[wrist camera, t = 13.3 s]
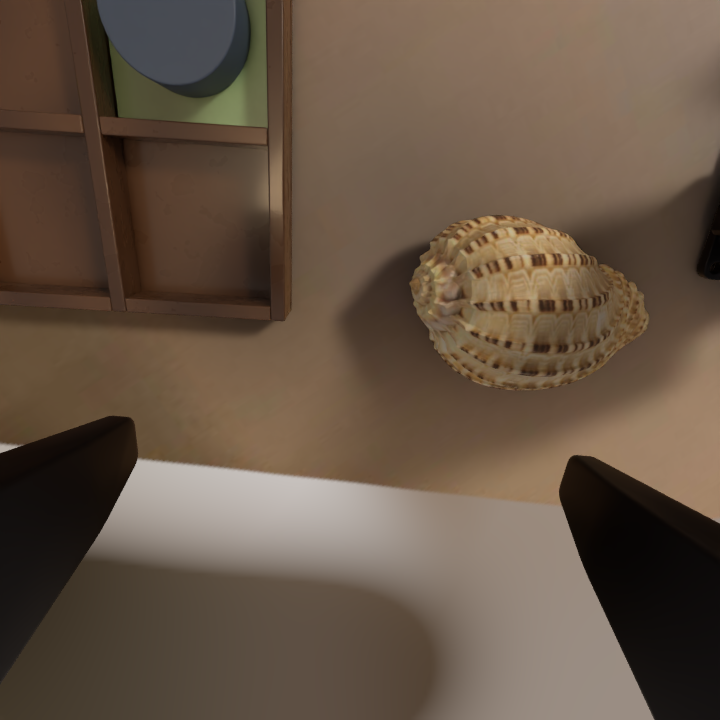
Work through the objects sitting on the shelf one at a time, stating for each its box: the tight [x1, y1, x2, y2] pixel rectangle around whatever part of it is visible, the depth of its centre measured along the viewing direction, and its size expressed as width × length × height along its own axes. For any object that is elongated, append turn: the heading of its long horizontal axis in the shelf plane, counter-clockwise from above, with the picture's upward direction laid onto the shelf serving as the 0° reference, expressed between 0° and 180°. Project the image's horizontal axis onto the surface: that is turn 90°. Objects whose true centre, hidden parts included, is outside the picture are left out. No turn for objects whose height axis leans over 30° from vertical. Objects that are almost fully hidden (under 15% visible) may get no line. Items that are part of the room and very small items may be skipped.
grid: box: [0, 0, 292, 321], centre depth 16 cm, size 14×14×2 cm
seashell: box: [409, 215, 649, 390], centre depth 18 cm, size 8×6×10 cm
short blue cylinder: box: [96, 0, 251, 98], centre depth 14 cm, size 4×4×2 cm
